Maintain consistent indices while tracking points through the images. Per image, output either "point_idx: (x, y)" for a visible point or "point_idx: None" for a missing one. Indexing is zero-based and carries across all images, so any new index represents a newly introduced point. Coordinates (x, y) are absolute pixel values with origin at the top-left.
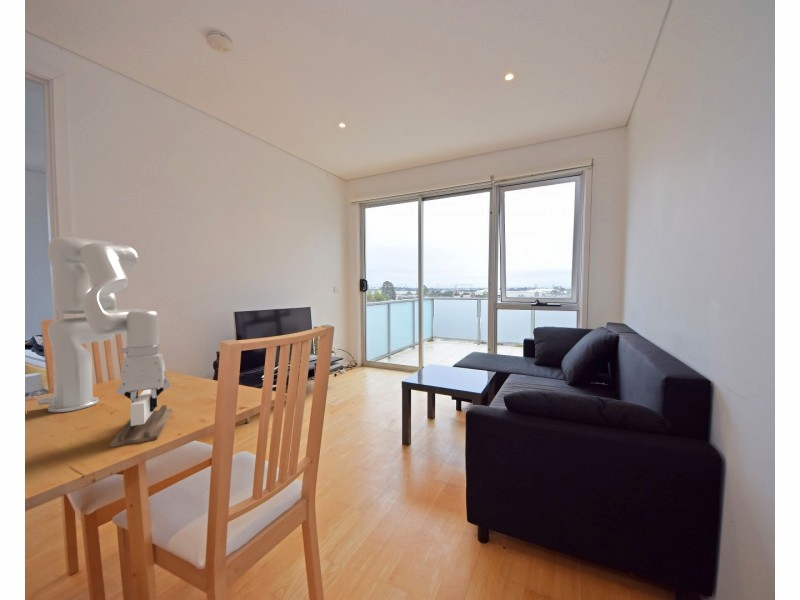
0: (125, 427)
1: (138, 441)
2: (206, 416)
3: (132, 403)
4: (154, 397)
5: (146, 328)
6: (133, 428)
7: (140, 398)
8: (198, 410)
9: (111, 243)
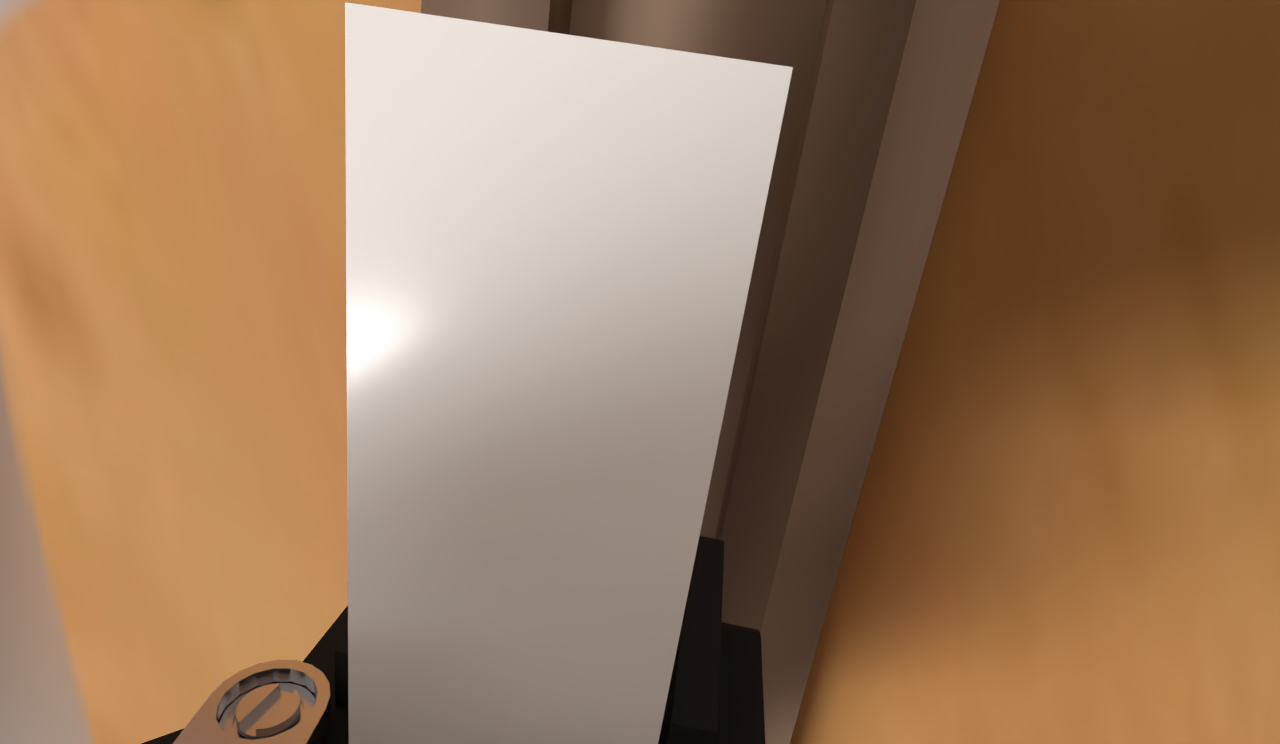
0: (834, 499)
1: None
2: (34, 408)
3: (725, 231)
4: (290, 684)
5: None
6: (743, 401)
7: (548, 663)
8: (162, 644)
9: None
